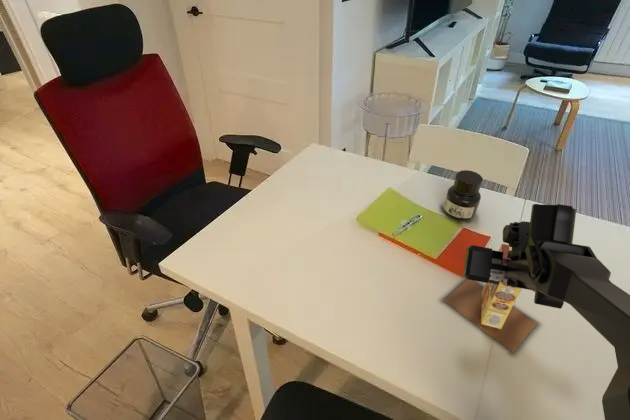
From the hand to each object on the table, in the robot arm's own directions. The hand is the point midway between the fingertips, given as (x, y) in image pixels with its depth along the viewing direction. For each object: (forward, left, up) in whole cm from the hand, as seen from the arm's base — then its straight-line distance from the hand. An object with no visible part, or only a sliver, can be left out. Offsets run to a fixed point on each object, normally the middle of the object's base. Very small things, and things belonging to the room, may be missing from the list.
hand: (506, 270), depth 74 cm
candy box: (-1, +1, -11) cm, 11 cm away
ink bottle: (+23, -24, -12) cm, 36 cm away
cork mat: (-1, +1, -12) cm, 12 cm away
